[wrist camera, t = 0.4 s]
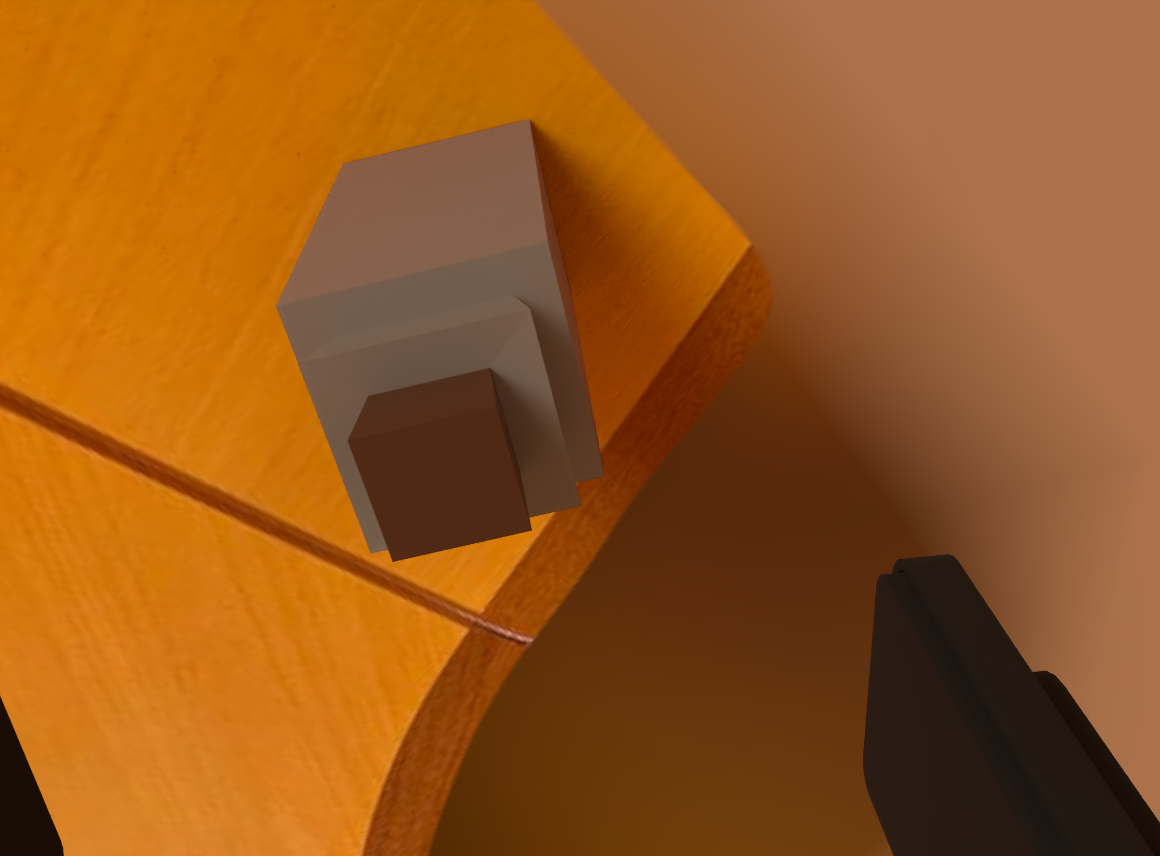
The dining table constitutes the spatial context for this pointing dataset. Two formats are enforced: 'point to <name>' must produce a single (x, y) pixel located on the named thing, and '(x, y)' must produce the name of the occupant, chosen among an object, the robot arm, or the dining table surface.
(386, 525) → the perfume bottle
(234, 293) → the dining table surface
